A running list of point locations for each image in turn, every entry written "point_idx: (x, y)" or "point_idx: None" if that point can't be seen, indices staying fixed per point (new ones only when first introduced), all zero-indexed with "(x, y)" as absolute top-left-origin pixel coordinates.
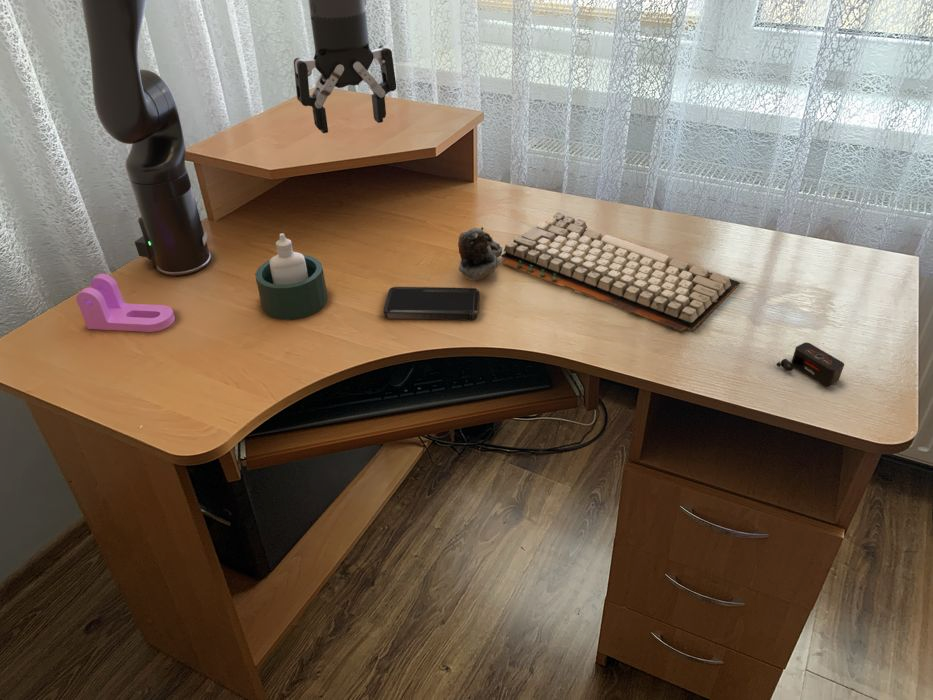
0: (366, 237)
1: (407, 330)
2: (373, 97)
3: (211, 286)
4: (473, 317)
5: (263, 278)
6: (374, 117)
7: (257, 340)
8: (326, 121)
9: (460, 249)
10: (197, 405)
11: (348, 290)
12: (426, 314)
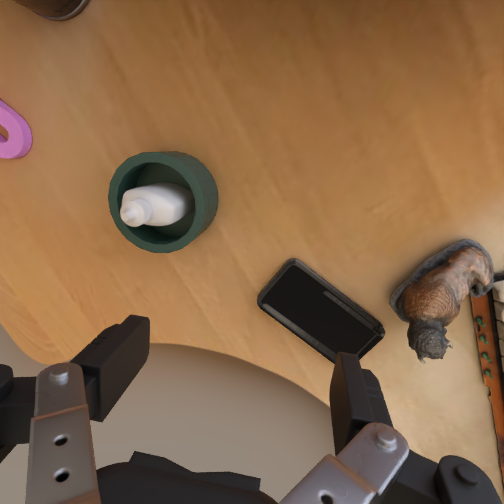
0: (353, 68)
1: (267, 333)
2: (345, 434)
3: (84, 81)
4: None
5: (125, 182)
6: (338, 360)
7: (114, 248)
8: (128, 383)
9: (405, 308)
10: (44, 311)
11: (247, 213)
12: (297, 335)
